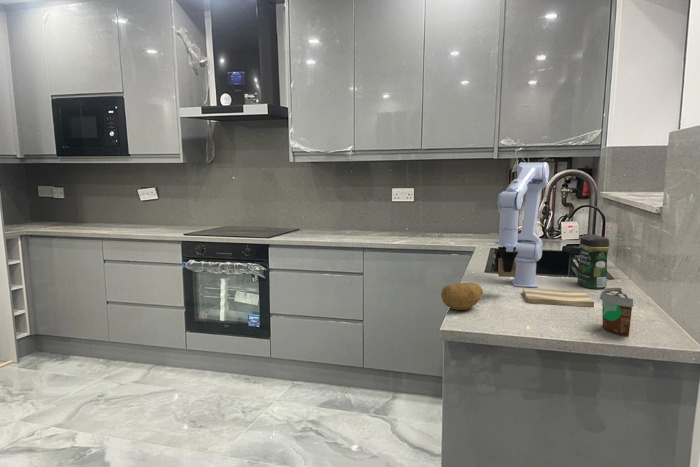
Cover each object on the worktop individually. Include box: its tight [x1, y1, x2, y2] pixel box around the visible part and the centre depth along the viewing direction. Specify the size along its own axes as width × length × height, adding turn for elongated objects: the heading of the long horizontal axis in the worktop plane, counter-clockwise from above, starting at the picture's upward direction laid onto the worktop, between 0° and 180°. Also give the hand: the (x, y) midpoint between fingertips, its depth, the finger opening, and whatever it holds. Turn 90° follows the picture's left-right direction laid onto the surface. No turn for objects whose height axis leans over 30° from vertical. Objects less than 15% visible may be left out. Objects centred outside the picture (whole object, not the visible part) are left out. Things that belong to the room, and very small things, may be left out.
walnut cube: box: [497, 257, 516, 278], centre depth 156 cm, size 5×5×5 cm
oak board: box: [522, 287, 595, 308], centre depth 154 cm, size 13×19×2 cm
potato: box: [440, 282, 483, 311], centre depth 143 cm, size 10×14×8 cm
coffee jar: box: [577, 233, 610, 290], centre depth 170 cm, size 10×8×19 cm
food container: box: [599, 287, 634, 337], centre depth 125 cm, size 12×6×10 cm, turn 163°
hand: (506, 270), depth 156 cm, fingers closed on walnut cube, 5 cm apart
